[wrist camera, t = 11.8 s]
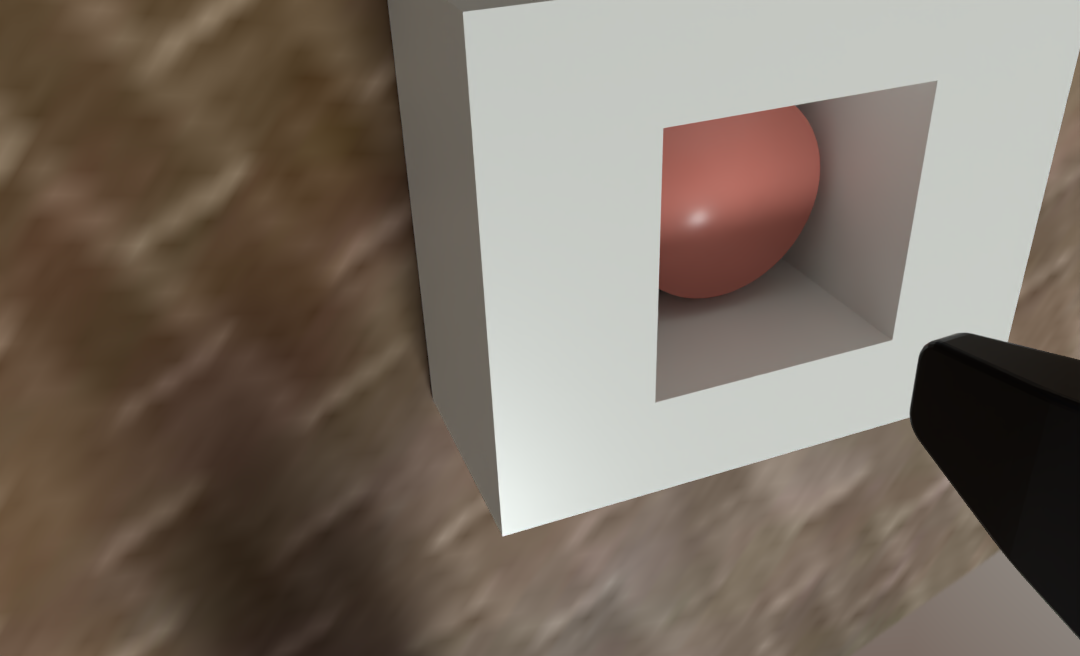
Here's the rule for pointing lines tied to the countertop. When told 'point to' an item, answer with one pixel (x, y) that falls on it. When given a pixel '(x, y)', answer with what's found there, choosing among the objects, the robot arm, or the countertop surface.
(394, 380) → the countertop surface
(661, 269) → the button
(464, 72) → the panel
